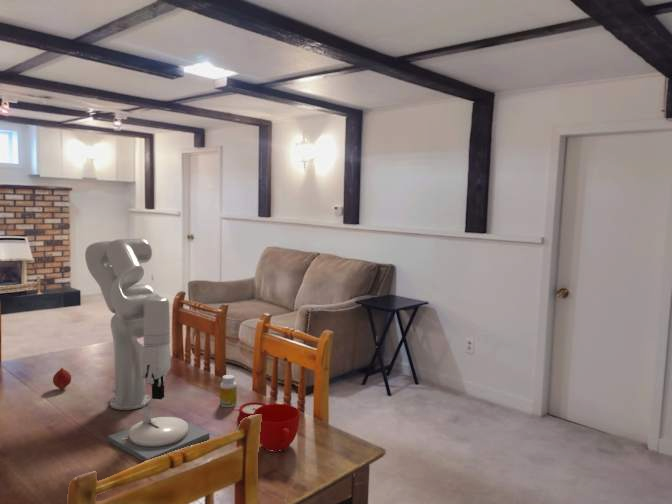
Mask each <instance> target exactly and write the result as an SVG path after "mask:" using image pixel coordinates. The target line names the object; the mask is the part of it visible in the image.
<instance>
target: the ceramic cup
mask: <svg viewBox="0 0 672 504" xmlns="http://www.w3.org/2000/svg"><path fill="white" fill-rule="evenodd" d="M255 414H262V422H261V432H260V442H259V443H260V445H261V446H262V447H263V448H264V449H265V448H266V449H268V450H273V451H279V450H284V449H286V448H287V449H288V448H289V446H290V445H291V444H292V443H293V442H294V440H295V438H296V436H297V433H298V430H299V425H300V416H301V415H300V410H299V409H298V408H296V407H295V406H293V405H291V404H289V405H288V404H284V403H272V404H271V403H269V404H266V405H265V406H262V407H259V408H258V409H256V410H255V411H254V415H255ZM266 449H265V450H266ZM287 449H286V450H287ZM284 451H285V450H284Z"/></svg>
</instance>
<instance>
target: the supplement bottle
mask: <svg viewBox="0 0 672 504" xmlns="http://www.w3.org/2000/svg"><path fill="white" fill-rule="evenodd" d="M221 380H222V382H221V383H220V386H219V388H220V391H219V393H220V395H219V397H220V399H219V402H220V406H221V407H222V408H230V407H232V408H233V407H235V406H236V405H237V399H238V398H237V397H238V396H237V395H238V394H237V392H238V391H237V382H236V381H235V375H233V374H225V375H223V376H222V379H221Z"/></svg>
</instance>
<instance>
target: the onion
mask: <svg viewBox="0 0 672 504" xmlns="http://www.w3.org/2000/svg"><path fill="white" fill-rule="evenodd" d="M71 382H72V375H71V374H70V372H69V371H67V370H66V369H65V368H64V367H61V368H60V369H59V370H57V372H56V373H55V374H54V375H53V377H52V383H53V385H54V386H55V387H56V388H58V389H60V390H64V389H65V388H67V387H68V386H69V385H70V383H71Z"/></svg>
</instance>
